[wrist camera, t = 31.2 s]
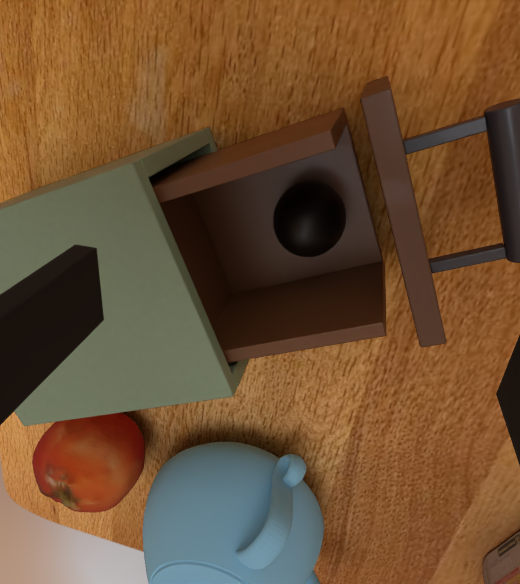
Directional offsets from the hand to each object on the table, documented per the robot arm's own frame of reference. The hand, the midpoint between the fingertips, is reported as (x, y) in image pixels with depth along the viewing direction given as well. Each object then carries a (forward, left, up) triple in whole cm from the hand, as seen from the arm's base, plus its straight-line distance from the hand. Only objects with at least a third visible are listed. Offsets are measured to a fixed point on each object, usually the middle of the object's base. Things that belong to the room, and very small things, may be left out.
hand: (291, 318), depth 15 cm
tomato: (+25, -18, -17) cm, 35 cm away
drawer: (+1, 0, -16) cm, 16 cm away
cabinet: (+6, -13, -17) cm, 22 cm away
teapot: (+30, -3, -17) cm, 35 cm away
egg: (+1, -1, -15) cm, 15 cm away
